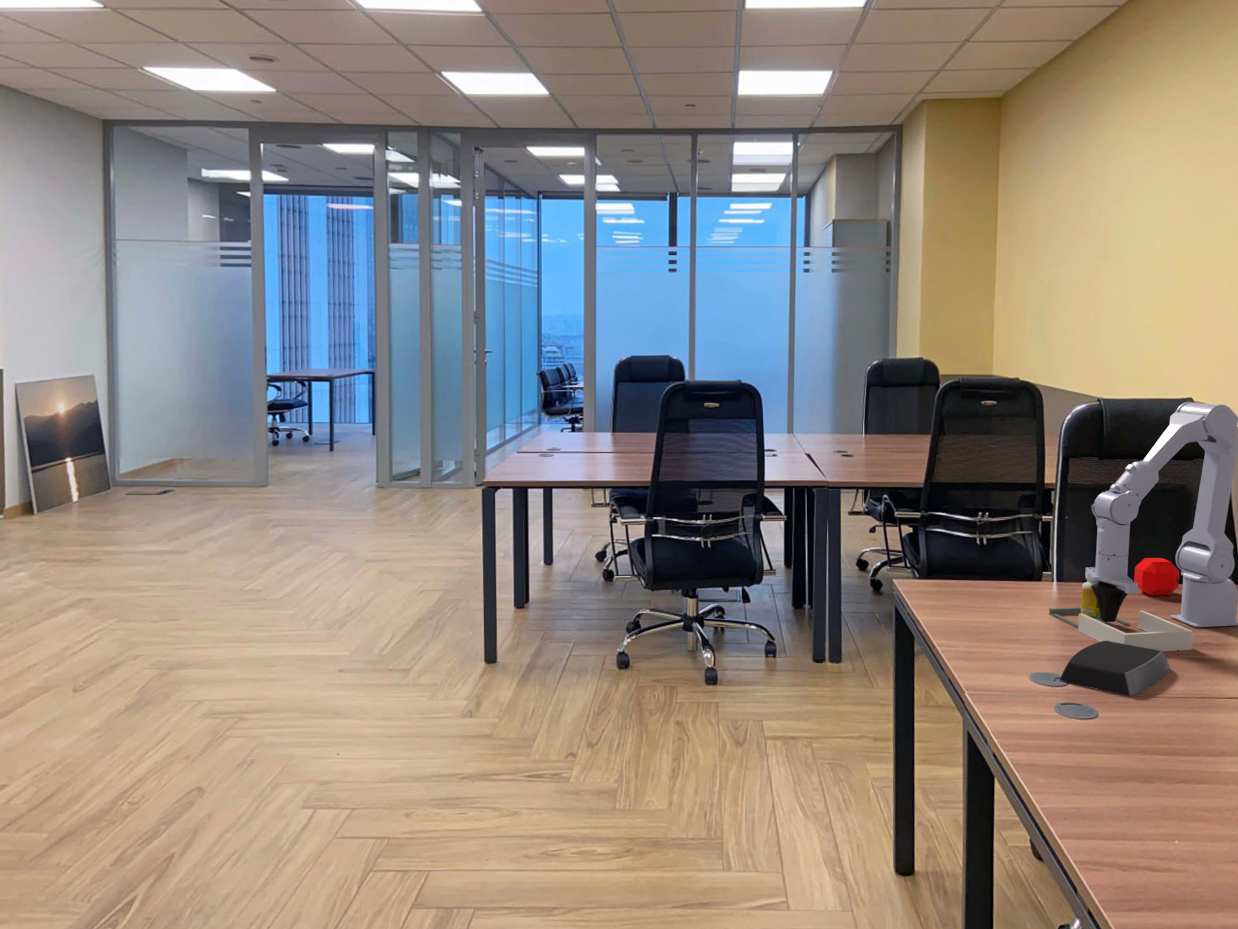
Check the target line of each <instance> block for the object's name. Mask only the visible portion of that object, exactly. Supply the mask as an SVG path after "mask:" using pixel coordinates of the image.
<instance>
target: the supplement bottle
mask: <svg viewBox="0 0 1238 929" xmlns="http://www.w3.org/2000/svg"><path fill="white" fill-rule="evenodd" d="M1090 575H1091V574H1090V573H1088V572H1087V573H1086V577H1085V580H1086V582H1083V583H1082V586H1081V597H1080V598H1081V599H1080V607H1081V614H1085V615H1087V616H1089V617H1091V618H1094V619H1096V620H1098V621H1100V622H1102V623H1105V624H1107V622H1104V621H1102V618H1101V614H1100V609H1099V605H1098V601H1097V598H1096V596H1095V593H1094V591H1093V590H1092V588H1091V586H1092V585H1093V584H1098V583H1099V580H1092V579H1090Z"/></svg>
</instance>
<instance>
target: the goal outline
mask: <svg viewBox="0 0 1238 929" xmlns="http://www.w3.org/2000/svg"><path fill="white" fill-rule="evenodd" d="M1048 609H1049V610H1048V611H1049V612H1048V614H1049V615H1050V616H1052V617H1054V618H1056V619H1059V620H1060V621H1063V622H1065V623H1066V624H1068V625H1071V626H1073V627H1075V628H1077V629H1078V623H1076V622H1075V621H1072V620H1070V619H1068V618H1067V617H1064V616H1065V615H1079V614H1081V606H1075V607H1053V608H1048ZM1062 615H1063V616H1062ZM1115 622H1118V623H1119V622H1120V623H1119V624H1122V625H1124V626H1130V622H1127V621H1125V620H1123V619H1121V618H1119V617H1117V618H1116V620H1115Z"/></svg>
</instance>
